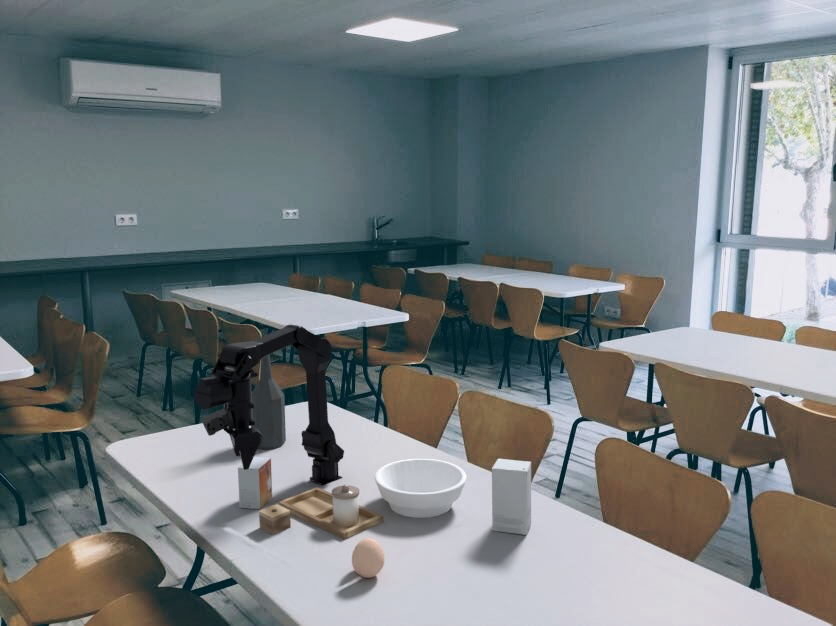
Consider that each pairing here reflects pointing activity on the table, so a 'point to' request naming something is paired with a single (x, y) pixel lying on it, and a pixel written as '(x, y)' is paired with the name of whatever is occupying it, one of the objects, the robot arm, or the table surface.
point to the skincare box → (511, 496)
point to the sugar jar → (345, 506)
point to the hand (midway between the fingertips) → (241, 462)
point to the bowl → (420, 486)
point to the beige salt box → (274, 519)
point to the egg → (368, 558)
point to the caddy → (327, 512)
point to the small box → (255, 483)
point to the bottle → (269, 408)
